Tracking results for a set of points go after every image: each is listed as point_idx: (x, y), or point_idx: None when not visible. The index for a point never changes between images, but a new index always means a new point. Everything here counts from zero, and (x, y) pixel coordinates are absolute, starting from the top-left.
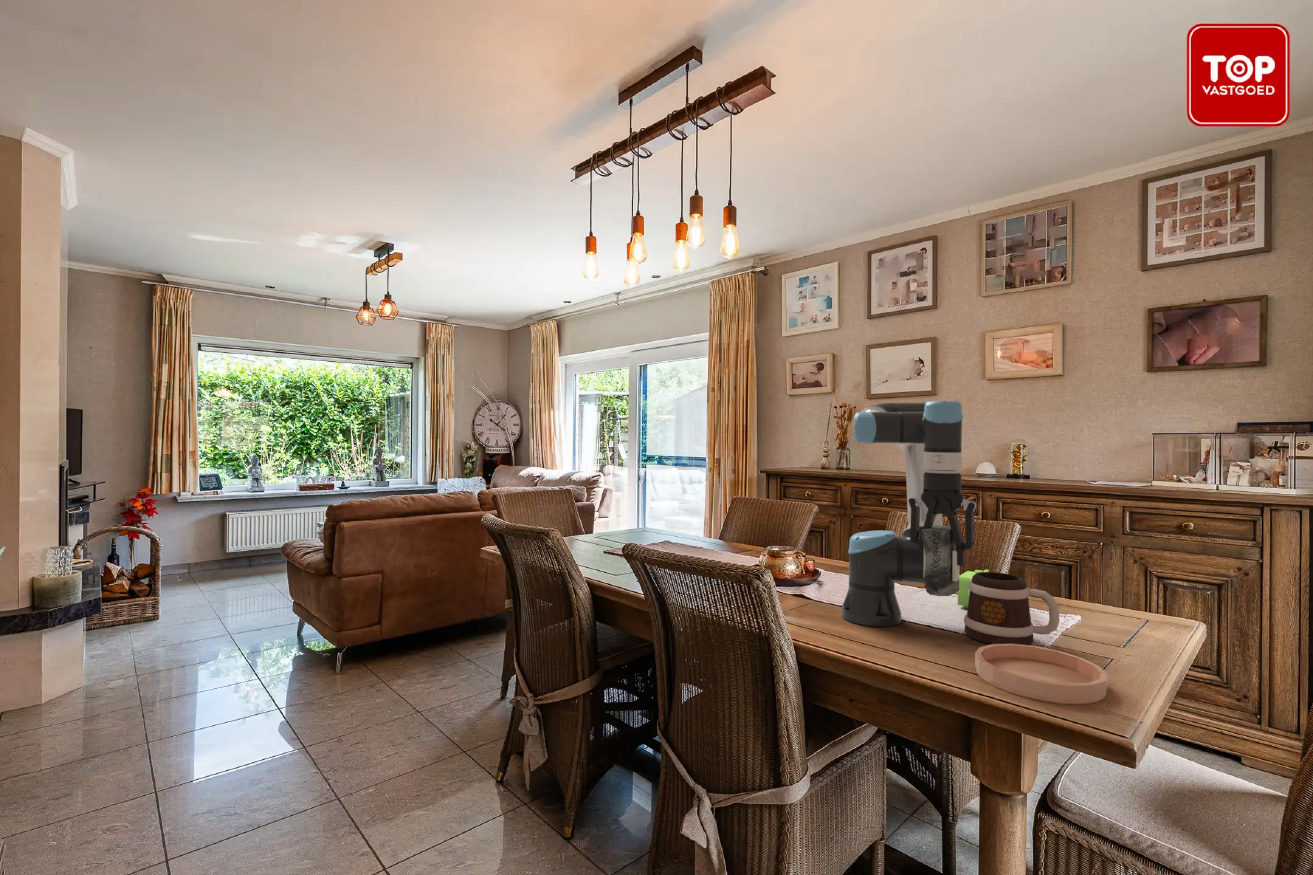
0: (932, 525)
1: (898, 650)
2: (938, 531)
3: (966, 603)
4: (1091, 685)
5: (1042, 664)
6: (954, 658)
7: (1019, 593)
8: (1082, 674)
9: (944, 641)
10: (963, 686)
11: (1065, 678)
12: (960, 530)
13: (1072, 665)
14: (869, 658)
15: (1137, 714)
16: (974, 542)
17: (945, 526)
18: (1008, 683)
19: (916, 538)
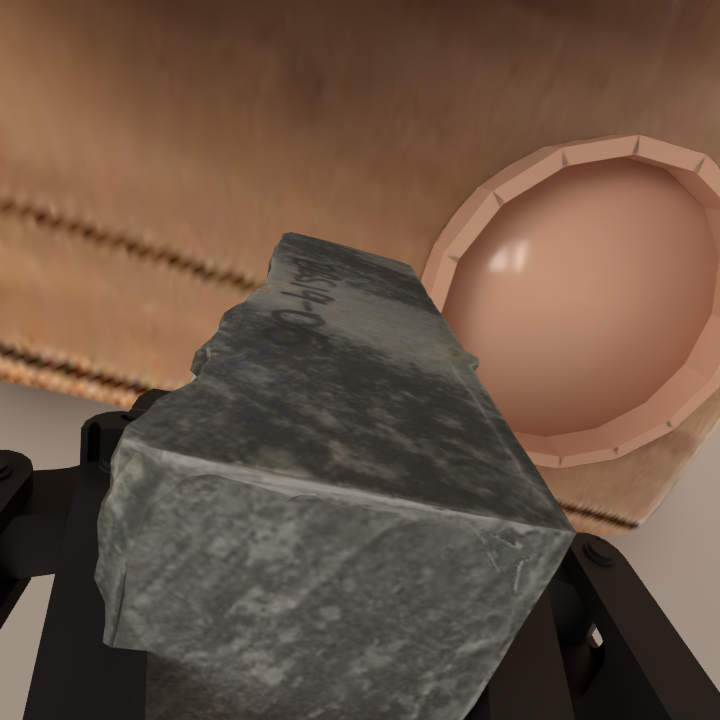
0: (144, 693)
1: (177, 237)
2: None
3: None
4: (669, 430)
5: (620, 192)
6: (357, 229)
7: None
8: (706, 234)
9: (319, 21)
10: None
11: (643, 294)
12: (559, 699)
13: (705, 201)
14: (116, 359)
15: (715, 418)
16: (638, 580)
17: (360, 546)
18: None
19: (21, 573)
